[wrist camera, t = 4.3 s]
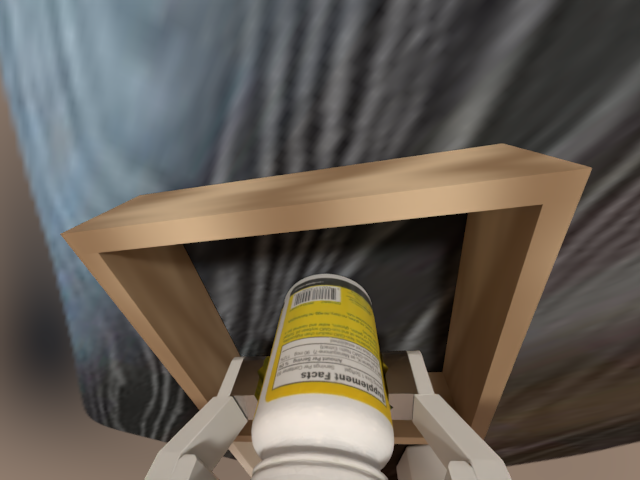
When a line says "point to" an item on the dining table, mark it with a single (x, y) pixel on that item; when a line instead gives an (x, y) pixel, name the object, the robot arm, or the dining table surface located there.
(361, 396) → the supplement bottle
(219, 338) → the frame
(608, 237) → the dining table surface
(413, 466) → the jar
